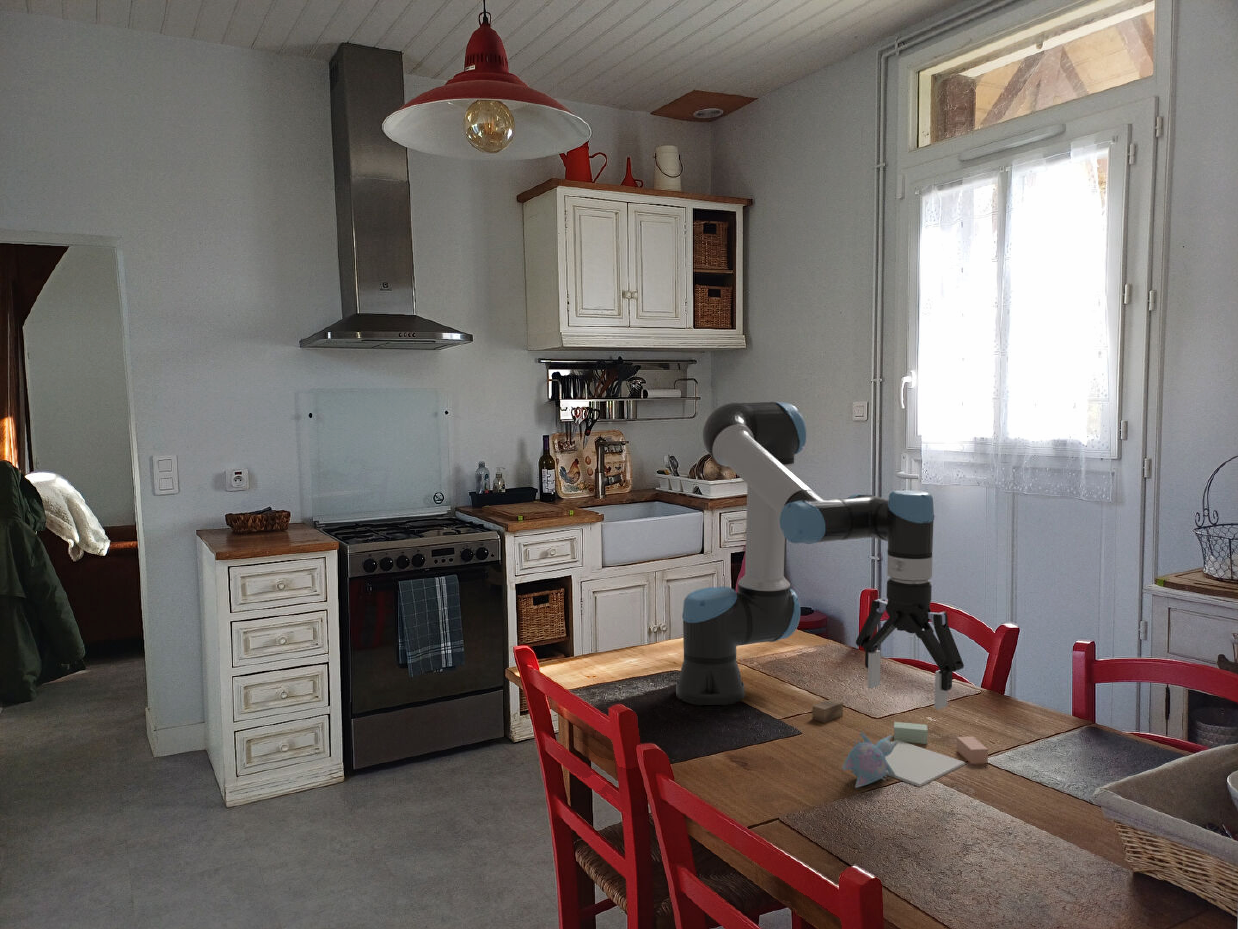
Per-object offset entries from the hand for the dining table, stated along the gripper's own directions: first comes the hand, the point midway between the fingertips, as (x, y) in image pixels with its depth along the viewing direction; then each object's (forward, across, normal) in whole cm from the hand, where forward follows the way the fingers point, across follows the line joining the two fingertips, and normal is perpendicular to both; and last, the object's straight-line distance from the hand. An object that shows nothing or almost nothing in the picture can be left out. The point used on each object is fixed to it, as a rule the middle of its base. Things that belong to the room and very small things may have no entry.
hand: (906, 696), depth 160 cm
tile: (+12, +1, 0) cm, 12 cm away
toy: (+8, -1, -2) cm, 8 cm away
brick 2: (+12, -5, +10) cm, 17 cm away
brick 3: (+12, +7, +11) cm, 18 cm away
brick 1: (+13, -23, +8) cm, 28 cm away
